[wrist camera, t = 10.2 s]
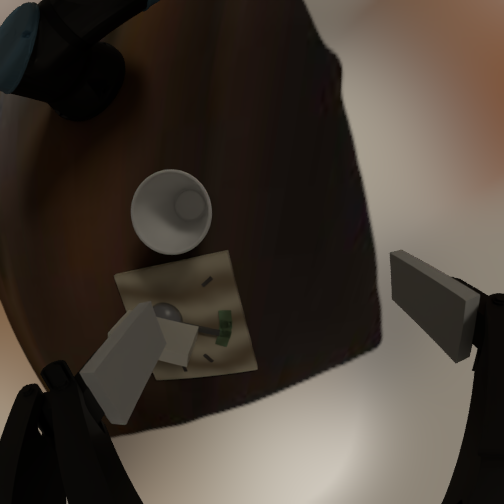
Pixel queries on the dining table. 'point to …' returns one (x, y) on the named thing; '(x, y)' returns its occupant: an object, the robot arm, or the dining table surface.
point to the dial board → (197, 312)
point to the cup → (171, 212)
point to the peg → (174, 333)
